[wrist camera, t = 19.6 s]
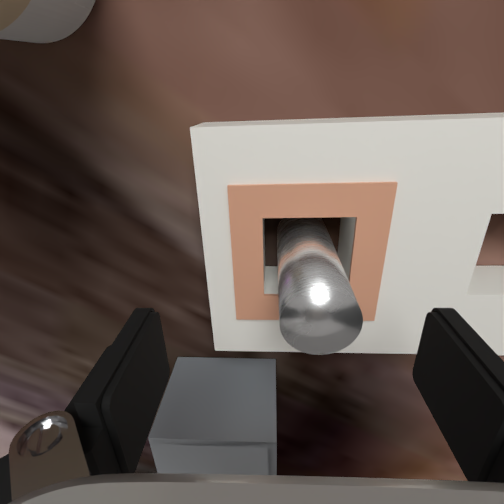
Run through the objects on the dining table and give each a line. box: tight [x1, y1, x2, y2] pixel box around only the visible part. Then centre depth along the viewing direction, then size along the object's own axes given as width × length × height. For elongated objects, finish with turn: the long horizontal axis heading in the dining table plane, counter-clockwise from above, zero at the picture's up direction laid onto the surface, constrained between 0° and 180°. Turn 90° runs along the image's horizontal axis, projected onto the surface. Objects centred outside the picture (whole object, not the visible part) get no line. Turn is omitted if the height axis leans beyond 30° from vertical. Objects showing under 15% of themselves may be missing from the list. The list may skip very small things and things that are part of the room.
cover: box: [148, 357, 277, 475], centre depth 21 cm, size 7×7×6 cm
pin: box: [277, 218, 363, 355], centre depth 14 cm, size 3×3×8 cm
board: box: [190, 113, 504, 355], centre depth 16 cm, size 12×20×3 cm, turn 92°
